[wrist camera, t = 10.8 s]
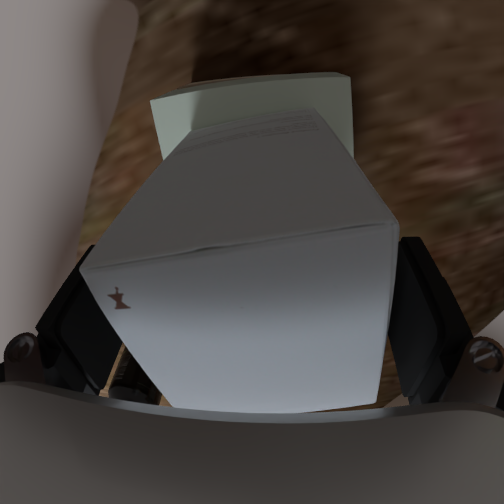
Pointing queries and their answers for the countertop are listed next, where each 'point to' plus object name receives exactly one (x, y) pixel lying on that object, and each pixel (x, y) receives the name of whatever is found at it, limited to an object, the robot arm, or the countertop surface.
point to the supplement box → (253, 270)
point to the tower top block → (253, 104)
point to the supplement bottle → (133, 382)
